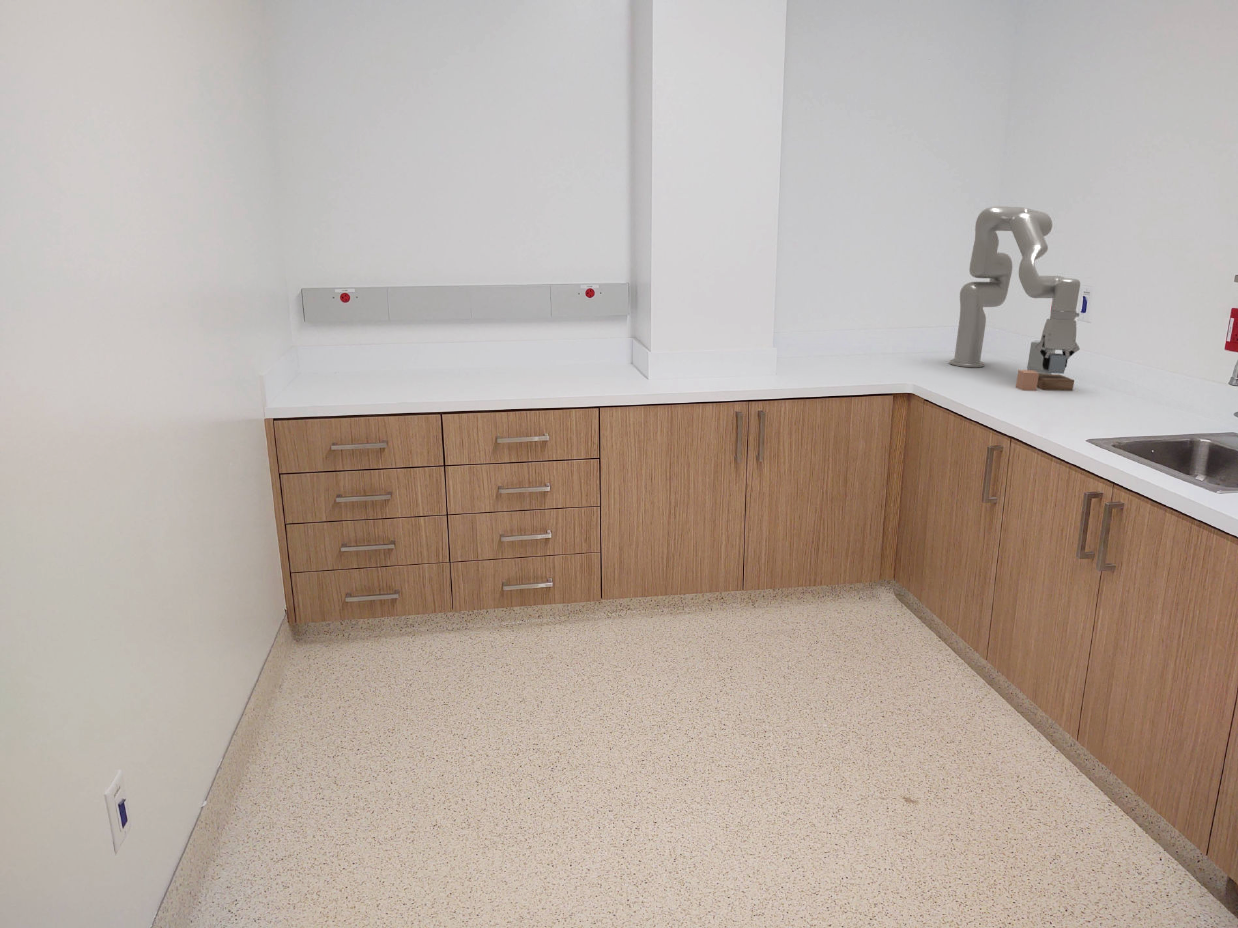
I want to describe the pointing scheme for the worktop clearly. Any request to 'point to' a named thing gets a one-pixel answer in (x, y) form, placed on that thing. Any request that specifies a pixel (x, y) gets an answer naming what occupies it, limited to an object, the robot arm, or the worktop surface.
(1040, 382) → the walnut base
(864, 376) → the worktop surface
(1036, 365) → the supplement box
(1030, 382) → the terracotta block
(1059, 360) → the grey block
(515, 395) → the worktop surface
